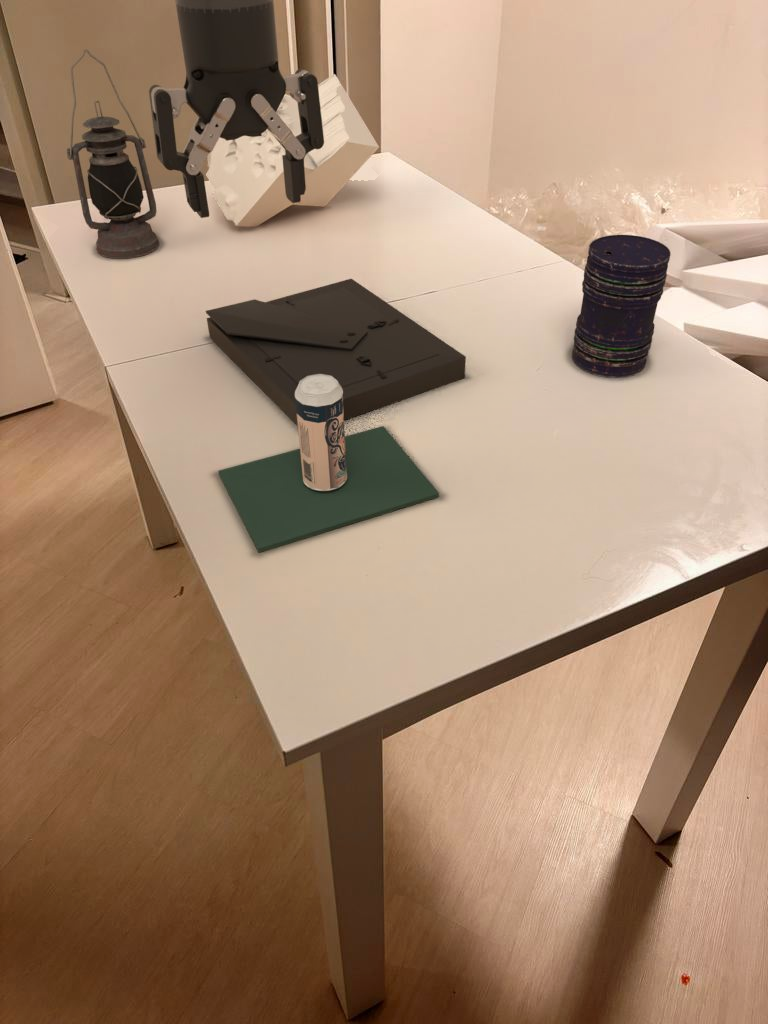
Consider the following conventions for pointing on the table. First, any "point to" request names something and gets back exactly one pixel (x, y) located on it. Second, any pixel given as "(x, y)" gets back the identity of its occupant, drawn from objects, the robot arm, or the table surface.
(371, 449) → the mat
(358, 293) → the black flat block
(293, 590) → the table surface
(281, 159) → the white angular faceted block
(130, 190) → the lantern
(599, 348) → the dark blue cylinder
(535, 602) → the table surface
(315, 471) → the beer can
